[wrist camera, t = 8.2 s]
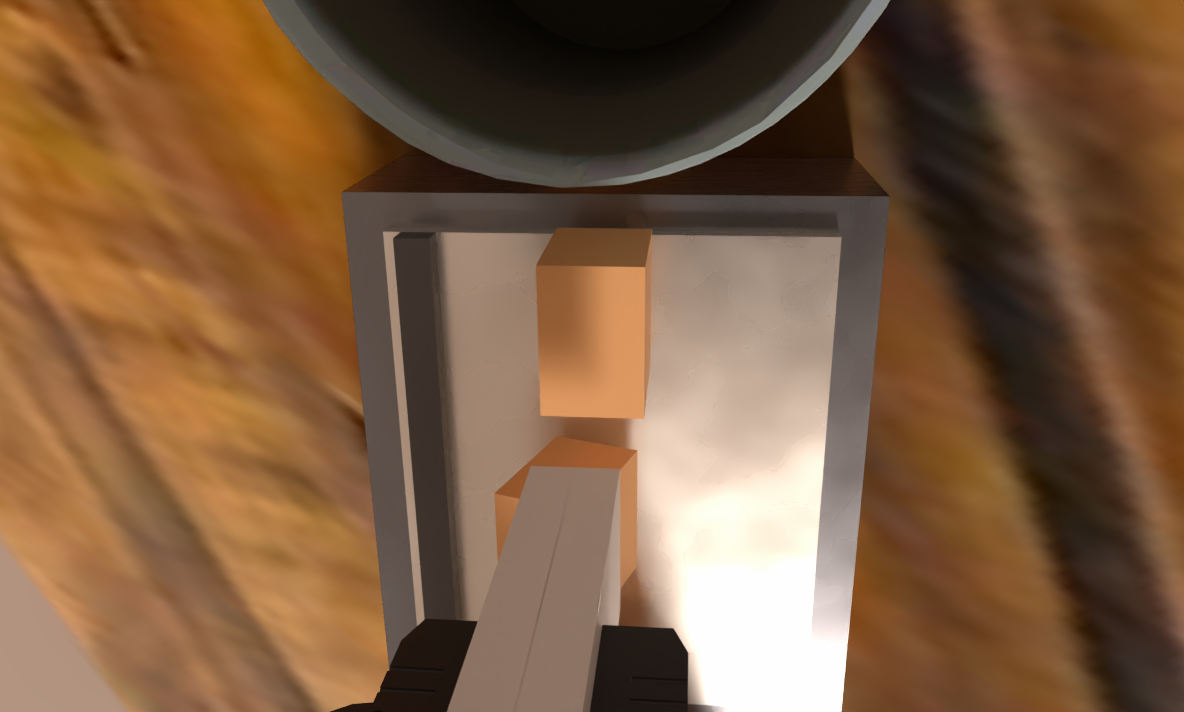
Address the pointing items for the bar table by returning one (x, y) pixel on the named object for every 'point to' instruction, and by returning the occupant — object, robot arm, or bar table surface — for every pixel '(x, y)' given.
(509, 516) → the small orange block
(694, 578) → the gray rectangular tray
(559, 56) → the gray green pot
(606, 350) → the orange tall rectangular block
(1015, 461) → the bar table surface
